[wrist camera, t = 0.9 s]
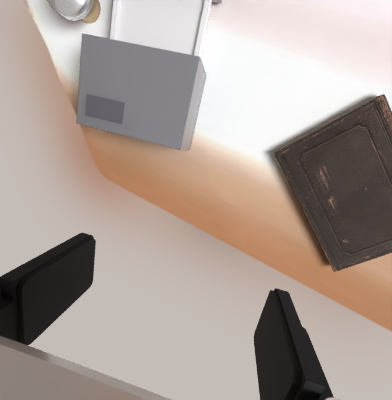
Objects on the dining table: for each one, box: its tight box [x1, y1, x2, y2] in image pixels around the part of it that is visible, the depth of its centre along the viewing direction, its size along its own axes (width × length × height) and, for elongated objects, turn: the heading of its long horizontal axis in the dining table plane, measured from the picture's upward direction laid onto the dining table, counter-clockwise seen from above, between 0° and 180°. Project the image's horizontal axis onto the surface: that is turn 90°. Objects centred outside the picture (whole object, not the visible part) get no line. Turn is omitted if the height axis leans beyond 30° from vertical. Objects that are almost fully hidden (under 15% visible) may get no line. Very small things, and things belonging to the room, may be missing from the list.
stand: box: [82, 0, 100, 23], centre depth 31 cm, size 4×4×4 cm
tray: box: [110, 0, 222, 57], centre depth 29 cm, size 12×17×5 cm
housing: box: [77, 34, 206, 150], centre depth 31 cm, size 12×17×7 cm
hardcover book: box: [275, 94, 392, 272], centre depth 32 cm, size 16×23×2 cm
